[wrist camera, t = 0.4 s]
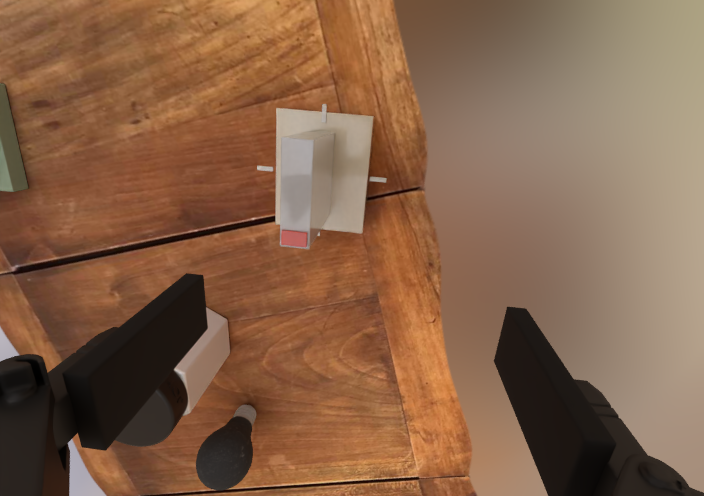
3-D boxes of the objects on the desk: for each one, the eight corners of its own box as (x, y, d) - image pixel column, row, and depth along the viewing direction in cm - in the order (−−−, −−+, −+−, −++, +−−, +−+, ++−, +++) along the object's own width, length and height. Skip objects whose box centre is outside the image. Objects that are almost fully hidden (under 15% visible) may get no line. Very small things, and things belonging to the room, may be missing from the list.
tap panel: (268, 99, 33) (256, 98, 30) (393, 110, 32) (394, 110, 29) (268, 220, 37) (257, 229, 34) (380, 232, 36) (379, 242, 33)
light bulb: (260, 432, 47) (227, 511, 37) (220, 412, 46) (177, 487, 37) (278, 403, 45) (249, 479, 36) (237, 381, 44) (196, 453, 35)
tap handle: (311, 130, 31) (279, 137, 22) (335, 132, 30) (313, 140, 22) (308, 212, 33) (278, 247, 24) (330, 214, 33) (308, 250, 24)
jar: (246, 327, 42) (192, 406, 30) (216, 375, 44) (157, 464, 33) (175, 285, 41) (93, 351, 29) (149, 337, 43) (65, 415, 32)
